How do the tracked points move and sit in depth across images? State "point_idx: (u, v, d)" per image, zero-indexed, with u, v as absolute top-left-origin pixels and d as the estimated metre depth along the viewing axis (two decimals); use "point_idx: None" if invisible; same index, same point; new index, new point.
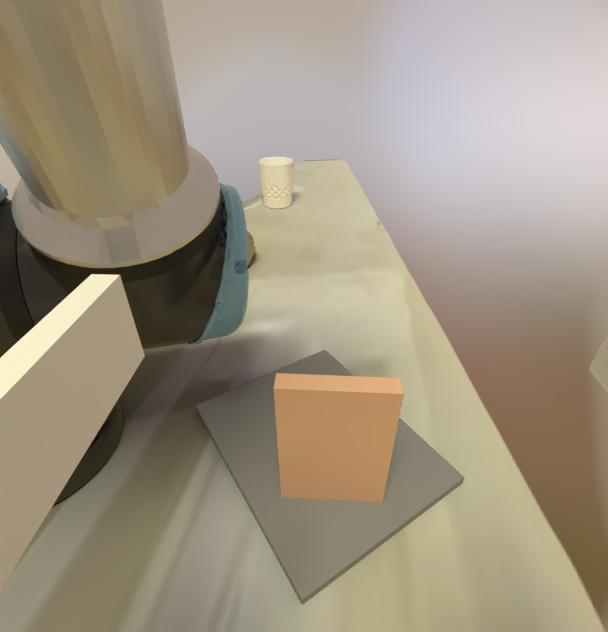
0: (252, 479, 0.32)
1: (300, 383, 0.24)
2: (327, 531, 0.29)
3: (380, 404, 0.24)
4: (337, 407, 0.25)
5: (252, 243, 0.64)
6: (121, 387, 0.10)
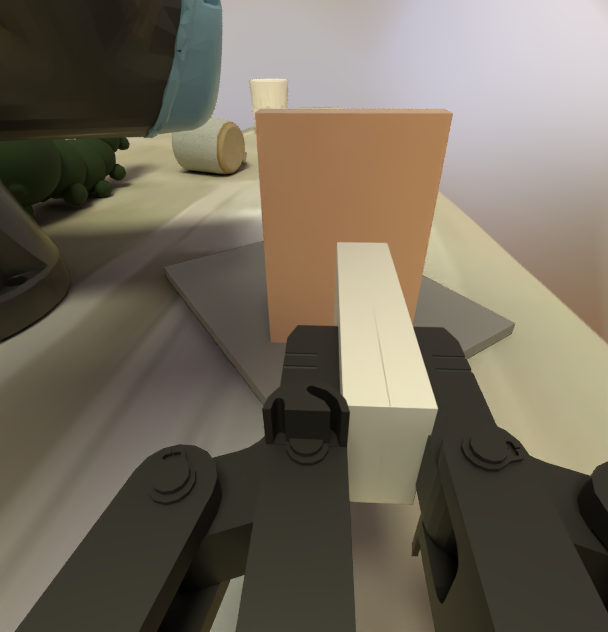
0: (232, 327, 0.24)
1: (295, 111, 0.16)
2: None
3: (416, 140, 0.16)
4: (351, 151, 0.17)
5: (242, 142, 0.56)
6: None
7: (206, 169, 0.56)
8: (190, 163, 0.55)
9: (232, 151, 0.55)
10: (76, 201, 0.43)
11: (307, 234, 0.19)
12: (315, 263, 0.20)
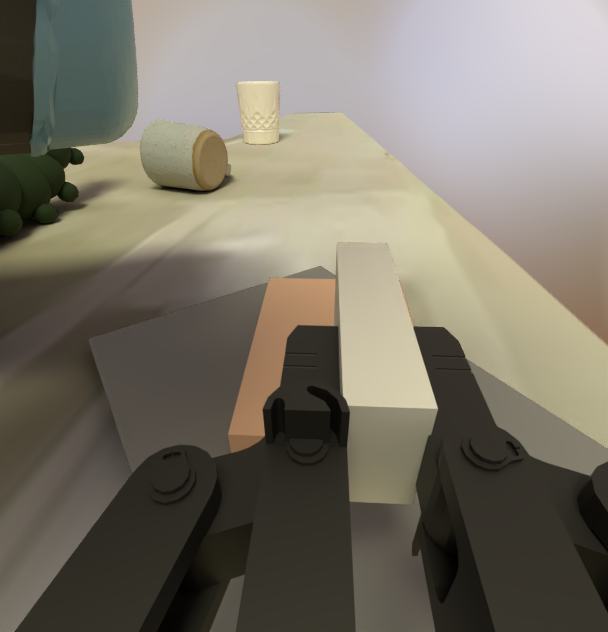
0: None
1: None
2: None
3: None
4: (334, 290, 0.23)
5: (225, 153, 0.48)
6: None
7: (181, 185, 0.47)
8: (163, 178, 0.47)
9: (212, 164, 0.46)
10: (5, 232, 0.34)
11: None
12: None
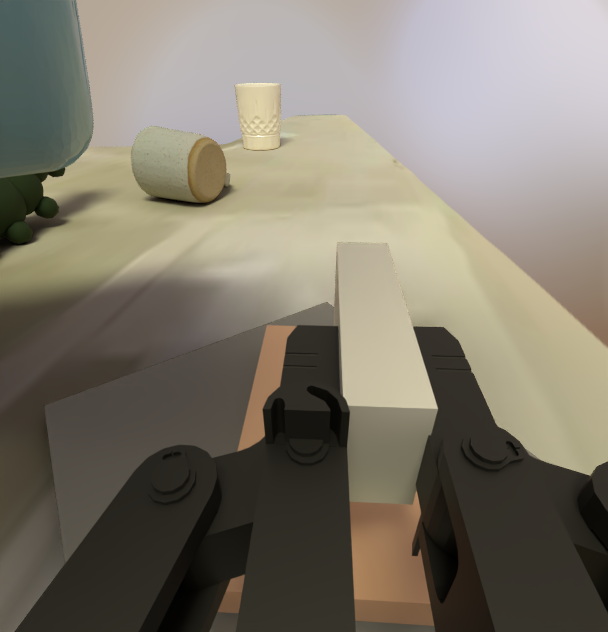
0: None
1: None
2: None
3: None
4: None
5: (223, 162, 0.44)
6: None
7: (176, 197, 0.44)
8: (156, 189, 0.43)
9: (209, 175, 0.43)
10: None
11: None
12: None
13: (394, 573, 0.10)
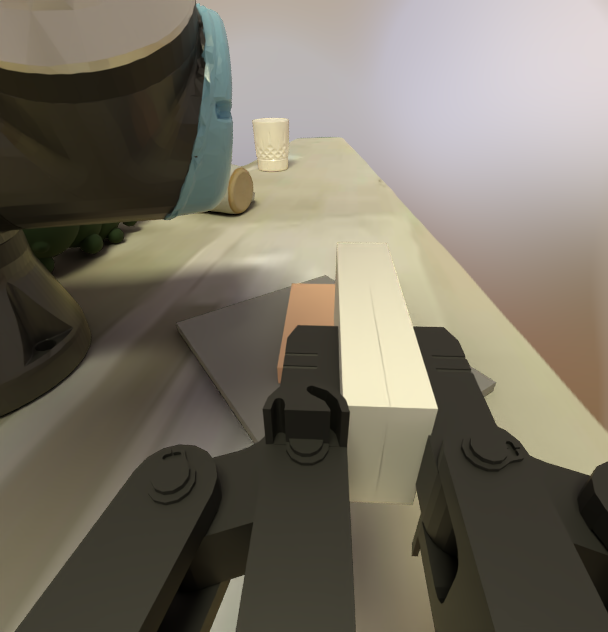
0: (240, 387, 0.27)
1: None
2: None
3: None
4: None
5: (251, 184, 0.61)
6: None
7: (218, 210, 0.60)
8: None
9: (242, 194, 0.59)
10: (92, 250, 0.47)
11: (313, 314, 0.31)
12: (317, 324, 0.30)
13: None
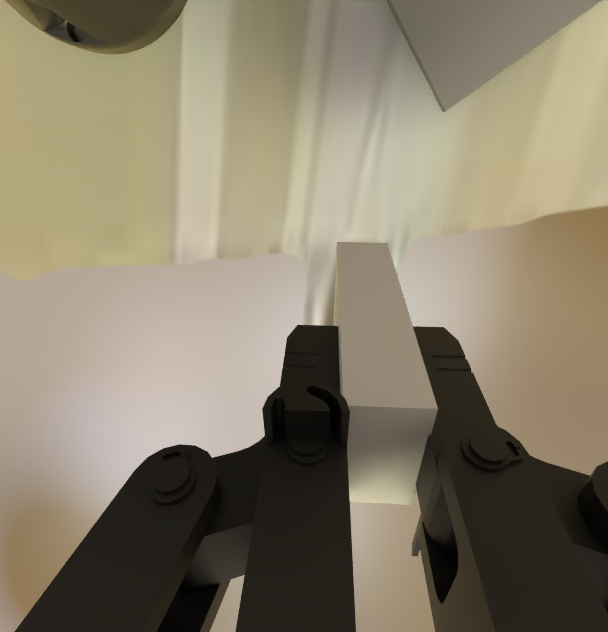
0: None
1: None
2: (480, 39, 0.27)
3: None
4: None
5: None
6: None
7: None
8: None
9: None
10: None
11: None
12: None
13: None
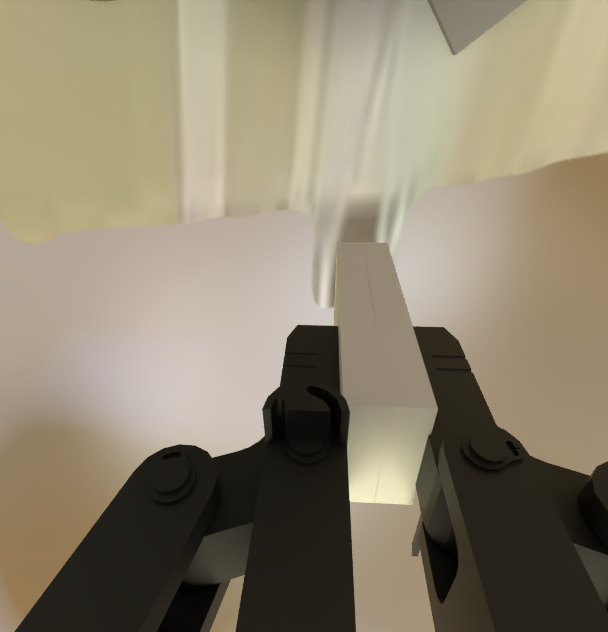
0: None
1: None
2: None
3: None
4: None
5: None
6: None
7: None
8: None
9: None
10: None
11: None
12: None
13: None
